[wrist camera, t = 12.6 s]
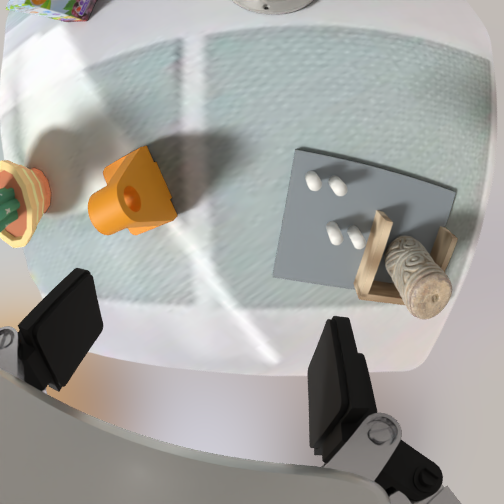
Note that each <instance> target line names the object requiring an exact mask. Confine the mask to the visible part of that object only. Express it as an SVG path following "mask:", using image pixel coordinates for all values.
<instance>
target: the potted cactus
mask: <svg viewBox="0 0 504 504" xmlns="http://www.w3.org/2000/svg"><path fill="white" fill-rule="evenodd" d="M50 199H51V191H50V187H49V183H48V180H47V178H46V177H45V175H44V174H43V172H42V171H40V170H38V169H36V168H32V169H29V168H26V167H24V166H22V165H17V164H15V163H13V162H11V161H8V160H5V161H0V237H1V239H2V240H3V241H5V242H6V243H8V244H9V245H10V246H12V247H13V248H16V247H24V246H26V245H27V243H28V242H29V241H30V239H31V237H32V235H33V234H34V232H35V230H36V227H37V224H38V223H39V221H40V219H41V217H42V216H43V213H45V212H46V211H47V209H48V207H49V206H50Z"/></svg>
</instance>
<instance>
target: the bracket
mask: <svg viewBox="0 0 504 504" xmlns="http://www.w3.org/2000/svg"><path fill="white" fill-rule="evenodd" d="M103 176H104V178H105V180H106V183H107V186H106V187H104V188H102V189H100V190H99V191H97V192H95V193H94V194H92V195H91V197H90V199H89V202H88V213H89V217H90V220H91V222H92V224H93V225H94V227H95V228H96V229H97V230H98V231H99V232H100V233H102V234H104V235H111V234H114V233H116V232H118V231H120V230H123V229H125V228H128V229H129V231H130V233H132V234H133V235H138V234H141V233H143V232H146V231H148V230H151V229H153V228H156V227H158V226H161V225H163V224H166V223H168V222H171V221H173V220H174V219H175V218H176V217H177V216H178V215H177V213H176V211H175V209H174V207H173V205H172V202H171V200H170V199H171V198H172V196H171V194H170V192H169V190H168V187H167V185H166V183H165V181H164V178H163V176H162V174H161V171H160V169H159V167H158V165H157V162H153V159H152V157H151V154H150V152H149V150H148V147H147V146H143V147H140V148H138V149H136V150H135V151H133V152H131V153H129V154H127V155H126V156H124V157H122V158H120V159H119V160H117V161H115V162H114V163H112V164H110V165H109V166H107V167H105V169H104V171H103Z"/></svg>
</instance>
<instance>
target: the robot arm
mask: <svg viewBox="0 0 504 504" xmlns="http://www.w3.org/2000/svg"><path fill="white" fill-rule="evenodd" d="M232 1H233V2H234V3H236V4H237V5H239V6H240V7H242V8H244V9H247V10H249V11H252V12H256V13H261V14H284V13H290V12H293V11H297V10H299V9H301V8H303V7H305V6H307V5H308V4H310V3H311V2H312V1H313V0H232ZM265 8H268V9H267V10H265ZM18 327H19V329H20V331H19V332H18V333H17V331H16V330H15V329H14V328H13V327H10V326H6V327H2V328H0V504H461V503H460V501H459V500H458V499H457V498H456V496H455V495H454V494H453V492H452V491H451V490H450V489H449V487H448V486H446V487H443V485H442V481H443V476H442V472H441V470H440V468H439V467H438V466H437V465H436V464H435V463H434V462H432V461H431V460H429V459H428V458H426V457H425V456H424V455H422V454H420V453H419V452H418V451H416V450H415V449H414V448H412V447H411V446H409V445H408V444H406V443H405V442H404V441H402V440H401V437H402V430H401V427H400V425H399V423H398V422H397V420H396V419H394V418H393V417H392V416H390V415H388V414H385V413H377V408H376V404H375V399H374V394H373V389H372V385H371V381H370V377H369V372H368V368H367V364H366V360H365V357H364V355H363V354H362V353H358V352H357V347H356V343H355V339H354V335H353V331H352V327H351V323H350V320H349V318H347V317H339V316H333V318H332V320H331V319H328V320H327V321H326V324H325V327H324V329H323V332H322V335H321V337H320V340H319V342H318V345H317V347H316V350H315V352H314V355H313V357H312V360H311V362H310V365H309V368H308V395H309V432H310V435H309V437H310V447H311V448H314V455H322V459H323V462H324V463H325V464H324V465H323V466H322V467H317V466H305V465H295V464H283V463H273V462H263V461H255V460H249V459H241V458H235V457H228V456H223V455H218V454H213V453H208V452H202V451H198V450H193V449H190V448H185V447H181V446H178V445H174V444H170V443H166V442H163V441H159V440H156V439H153V438H150V437H146V436H143V435H140V434H137V433H134V432H131V431H128V430H126V429H123V428H120V427H117V426H115V425H112V424H109V423H107V422H105V421H102V420H100V419H97V418H95V417H93V416H91V415H88V414H86V413H84V412H81V411H79V410H77V409H75V408H73V407H70V406H69V405H67V404H64V403H63V402H61V401H59V400H57V399H55V398H53V397H51V396H49V395H47V392H46V387H47V385H49V387H51V388H53V389H55V390H57V391H60V389H61V388H62V386H63V387H64V386H66V384H67V383H68V381H69V380H70V378H71V376H72V375H73V373H74V372H75V370H76V369H77V367H78V366H79V364H80V363H81V361H82V360H83V358H84V357H85V355H86V354H87V352H88V351H89V349H90V348H91V346H92V345H93V344H94V342H95V341H96V339H97V338H98V336H99V335H100V333H101V332H102V330H103V321H102V317H101V313H100V309H99V304H98V300H97V295H96V290H95V285H94V280H93V276H92V275H91V274H90V272H89V271H88V270H84V269H80V268H76V269H74V270H73V271H72V272H71V273H70V274H69V275H68V276H67V277H65V278H64V279H63V280H62V281H61V282H60V283H59V284H58V285H57V286H56V287H55V288H54V289H53V290H52V291H51V292H50V293H49V294H48V295H47V296H46V297H45V298H44V299H43V300H42V301H41V302H40V303H39V304H38V305H37V306H36V307H35V308H34V309H33V310H32V311H31V312H30V313H29V314H28V315H27V316H26V317H25V318H24V319H23V320H22V322H21V323H20V324H19V325H18Z"/></svg>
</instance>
